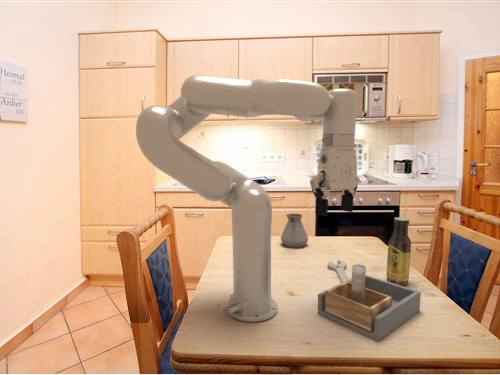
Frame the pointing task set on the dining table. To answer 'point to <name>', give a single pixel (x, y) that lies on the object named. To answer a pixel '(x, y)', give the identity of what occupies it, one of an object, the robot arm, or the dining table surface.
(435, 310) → the dining table surface
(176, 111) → the robot arm
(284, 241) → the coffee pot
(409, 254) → the sauce bottle
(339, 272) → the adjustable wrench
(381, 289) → the bay
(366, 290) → the crate
